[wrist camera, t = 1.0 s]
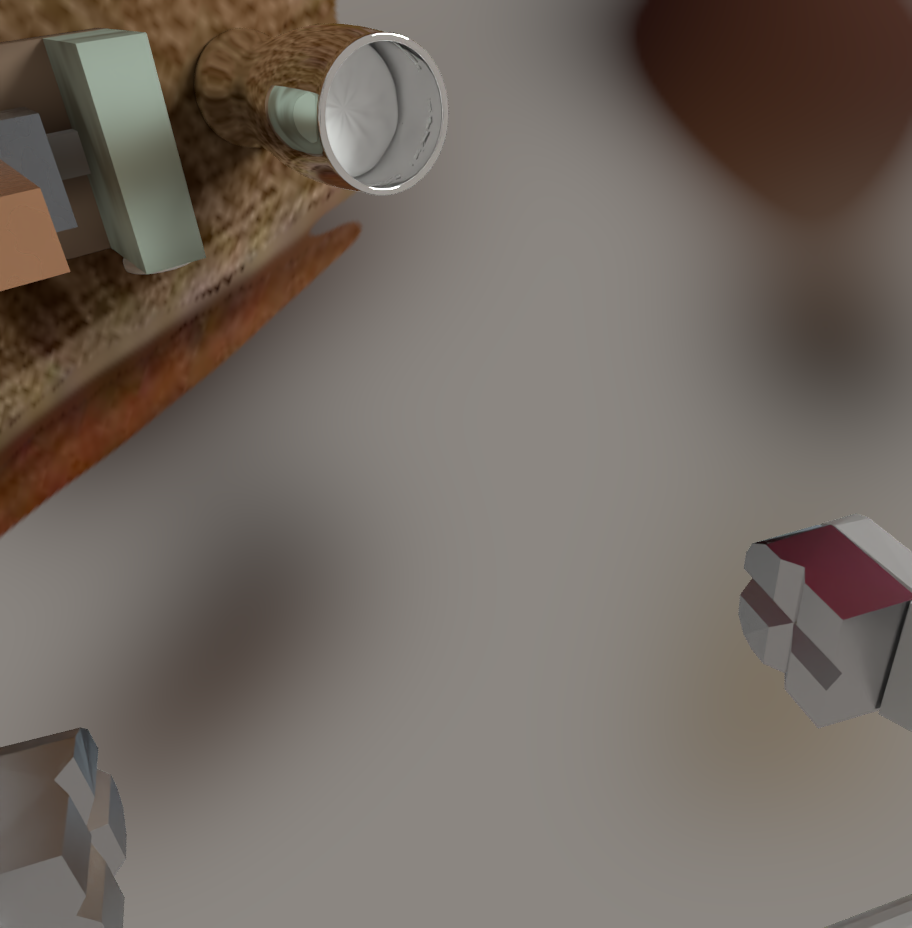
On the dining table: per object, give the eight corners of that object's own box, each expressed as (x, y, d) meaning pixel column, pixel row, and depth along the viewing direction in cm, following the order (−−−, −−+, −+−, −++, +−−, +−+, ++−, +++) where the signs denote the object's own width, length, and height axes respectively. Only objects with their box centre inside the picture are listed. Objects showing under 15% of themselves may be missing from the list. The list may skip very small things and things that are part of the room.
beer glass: (249, 181, 49) (383, 233, 38) (158, 84, 44) (281, 113, 33) (325, 92, 49) (478, 120, 39) (243, -12, 44) (392, -15, 34)
